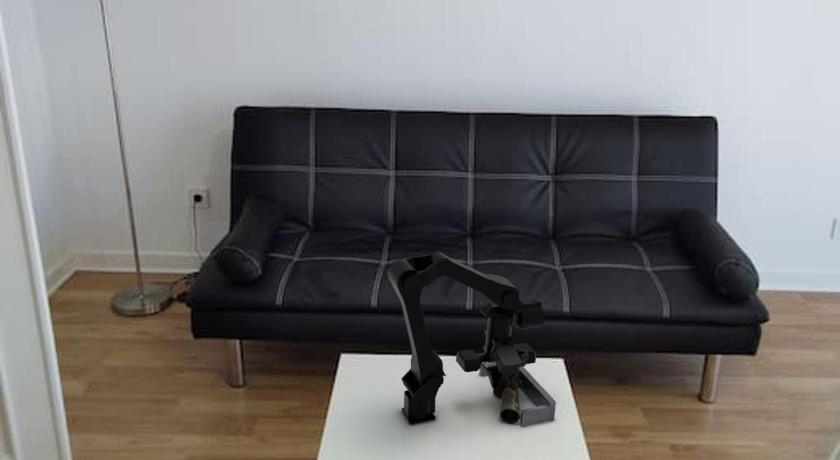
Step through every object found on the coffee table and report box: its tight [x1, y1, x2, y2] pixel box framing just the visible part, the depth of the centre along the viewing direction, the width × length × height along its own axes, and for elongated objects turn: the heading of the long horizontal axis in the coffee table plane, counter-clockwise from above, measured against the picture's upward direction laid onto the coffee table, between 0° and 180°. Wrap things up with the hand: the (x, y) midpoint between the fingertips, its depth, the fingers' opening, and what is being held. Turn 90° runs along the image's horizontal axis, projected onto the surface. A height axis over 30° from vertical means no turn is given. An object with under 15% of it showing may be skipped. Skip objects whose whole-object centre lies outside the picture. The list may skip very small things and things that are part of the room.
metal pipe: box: [492, 373, 521, 425], centre depth 188 cm, size 18×7×6 cm, turn 173°
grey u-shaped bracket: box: [478, 365, 557, 428], centre depth 191 cm, size 8×24×5 cm, turn 20°
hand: (493, 388), depth 189 cm, fingers closed
